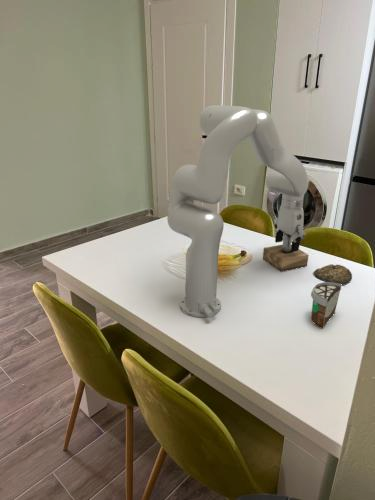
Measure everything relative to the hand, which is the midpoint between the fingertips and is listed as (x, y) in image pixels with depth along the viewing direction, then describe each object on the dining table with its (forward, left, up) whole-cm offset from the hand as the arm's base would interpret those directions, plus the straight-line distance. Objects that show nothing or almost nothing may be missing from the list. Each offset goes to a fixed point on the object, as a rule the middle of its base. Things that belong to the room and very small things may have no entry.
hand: (286, 246), depth 143 cm
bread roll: (-16, -10, -8) cm, 20 cm away
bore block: (0, 0, -7) cm, 7 cm away
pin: (0, 0, -6) cm, 6 cm away
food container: (-35, +14, -7) cm, 38 cm away
